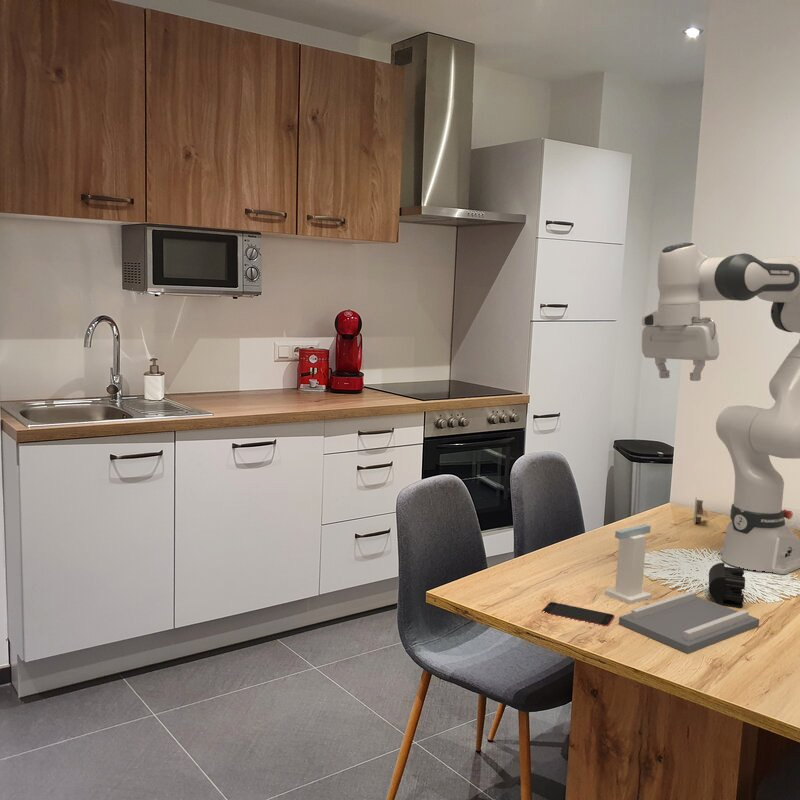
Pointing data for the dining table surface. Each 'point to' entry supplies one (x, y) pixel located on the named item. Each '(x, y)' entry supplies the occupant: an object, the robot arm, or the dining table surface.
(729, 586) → the black rounded block
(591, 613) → the smartphone
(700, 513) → the architectural model
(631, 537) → the stand
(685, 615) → the plate
